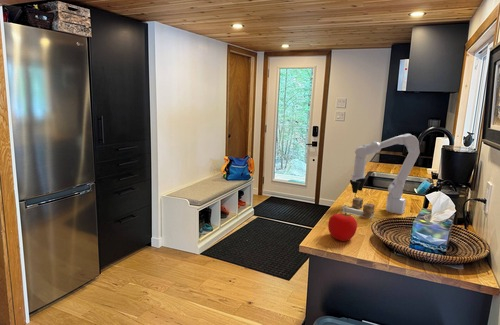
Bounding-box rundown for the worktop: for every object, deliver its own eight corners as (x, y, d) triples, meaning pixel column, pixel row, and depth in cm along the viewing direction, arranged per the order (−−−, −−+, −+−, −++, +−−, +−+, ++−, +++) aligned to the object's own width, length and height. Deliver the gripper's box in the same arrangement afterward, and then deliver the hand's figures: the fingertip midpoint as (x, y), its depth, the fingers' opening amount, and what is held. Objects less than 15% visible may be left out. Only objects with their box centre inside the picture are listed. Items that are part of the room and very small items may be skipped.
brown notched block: (362, 208, 191) (363, 198, 190) (359, 211, 187) (360, 200, 186) (355, 207, 193) (356, 197, 192) (351, 209, 189) (352, 199, 188)
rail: (374, 216, 178) (375, 210, 178) (370, 220, 173) (371, 213, 172) (346, 209, 188) (346, 204, 187) (341, 212, 182) (341, 206, 182)
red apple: (325, 241, 144) (327, 216, 142) (329, 230, 157) (331, 207, 155) (354, 246, 140) (357, 220, 138) (356, 234, 153) (358, 210, 151)
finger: (362, 215, 176) (363, 205, 175) (365, 213, 180) (366, 202, 179) (370, 217, 174) (371, 206, 173) (373, 215, 178) (374, 204, 177)
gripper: (357, 165, 195) (355, 188, 198) (347, 168, 184) (345, 192, 187) (369, 167, 191) (367, 190, 194) (360, 170, 180) (357, 195, 182)
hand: (357, 191), depth 190 cm, fingers open, 7 cm apart
